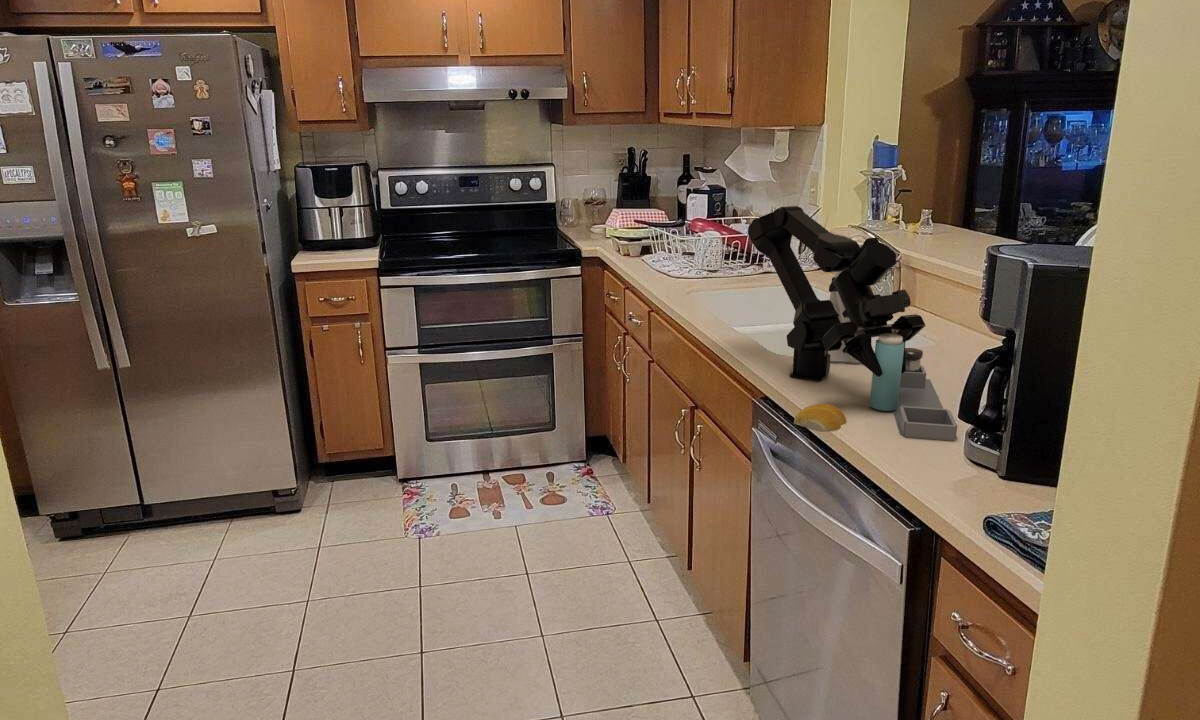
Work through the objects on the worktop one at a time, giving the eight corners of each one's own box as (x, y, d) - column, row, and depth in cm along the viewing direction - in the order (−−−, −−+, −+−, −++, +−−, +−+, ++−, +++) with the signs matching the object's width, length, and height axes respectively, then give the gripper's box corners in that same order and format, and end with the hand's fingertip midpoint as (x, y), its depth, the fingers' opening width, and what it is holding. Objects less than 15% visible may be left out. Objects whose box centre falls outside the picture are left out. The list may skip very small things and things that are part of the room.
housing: (958, 446, 136) (961, 424, 135) (900, 442, 138) (902, 420, 137) (929, 384, 166) (931, 364, 164) (881, 381, 167) (883, 362, 166)
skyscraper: (863, 366, 176) (875, 235, 168) (824, 364, 178) (834, 234, 170) (859, 355, 184) (871, 228, 176) (822, 353, 186) (831, 227, 178)
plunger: (894, 381, 162) (897, 352, 161) (899, 375, 166) (902, 346, 164) (917, 385, 160) (920, 355, 159) (921, 378, 164) (924, 349, 162)
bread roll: (851, 424, 146) (853, 403, 145) (832, 441, 139) (834, 418, 138) (806, 414, 151) (807, 394, 150) (786, 430, 144) (787, 408, 143)
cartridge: (866, 407, 149) (873, 338, 145) (873, 399, 153) (879, 331, 149) (894, 412, 147) (902, 342, 143) (900, 404, 151) (907, 335, 147)
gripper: (837, 279, 143) (872, 358, 137) (924, 270, 150) (961, 346, 143) (807, 312, 153) (839, 388, 146) (891, 303, 159) (924, 375, 153)
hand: (892, 373), depth 147 cm, fingers closed on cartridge, 5 cm apart
